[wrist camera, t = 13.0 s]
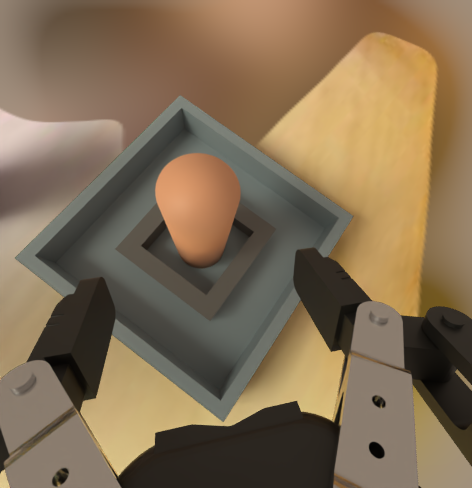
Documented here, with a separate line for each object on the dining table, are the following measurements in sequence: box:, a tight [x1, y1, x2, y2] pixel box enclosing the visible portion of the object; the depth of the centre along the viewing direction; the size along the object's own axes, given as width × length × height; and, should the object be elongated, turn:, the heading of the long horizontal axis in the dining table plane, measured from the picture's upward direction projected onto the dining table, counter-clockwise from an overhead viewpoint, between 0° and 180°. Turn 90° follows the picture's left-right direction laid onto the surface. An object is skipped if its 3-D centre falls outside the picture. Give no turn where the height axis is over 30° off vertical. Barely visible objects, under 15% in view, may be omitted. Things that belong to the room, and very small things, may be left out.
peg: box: [155, 153, 241, 269], centre depth 20 cm, size 4×4×12 cm
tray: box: [15, 96, 353, 422], centre depth 25 cm, size 20×20×4 cm
